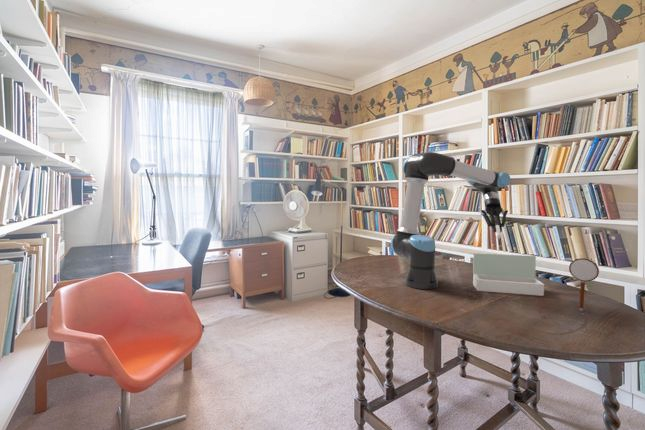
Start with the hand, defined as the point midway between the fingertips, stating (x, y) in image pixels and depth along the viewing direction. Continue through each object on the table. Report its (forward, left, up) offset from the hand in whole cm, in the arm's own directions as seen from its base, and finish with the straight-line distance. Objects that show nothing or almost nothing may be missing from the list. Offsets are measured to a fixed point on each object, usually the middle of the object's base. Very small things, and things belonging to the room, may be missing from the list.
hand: (498, 236), depth 155 cm
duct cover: (0, -11, -12) cm, 16 cm away
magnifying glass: (+20, -36, -22) cm, 47 cm away
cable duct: (0, -16, -22) cm, 27 cm away
